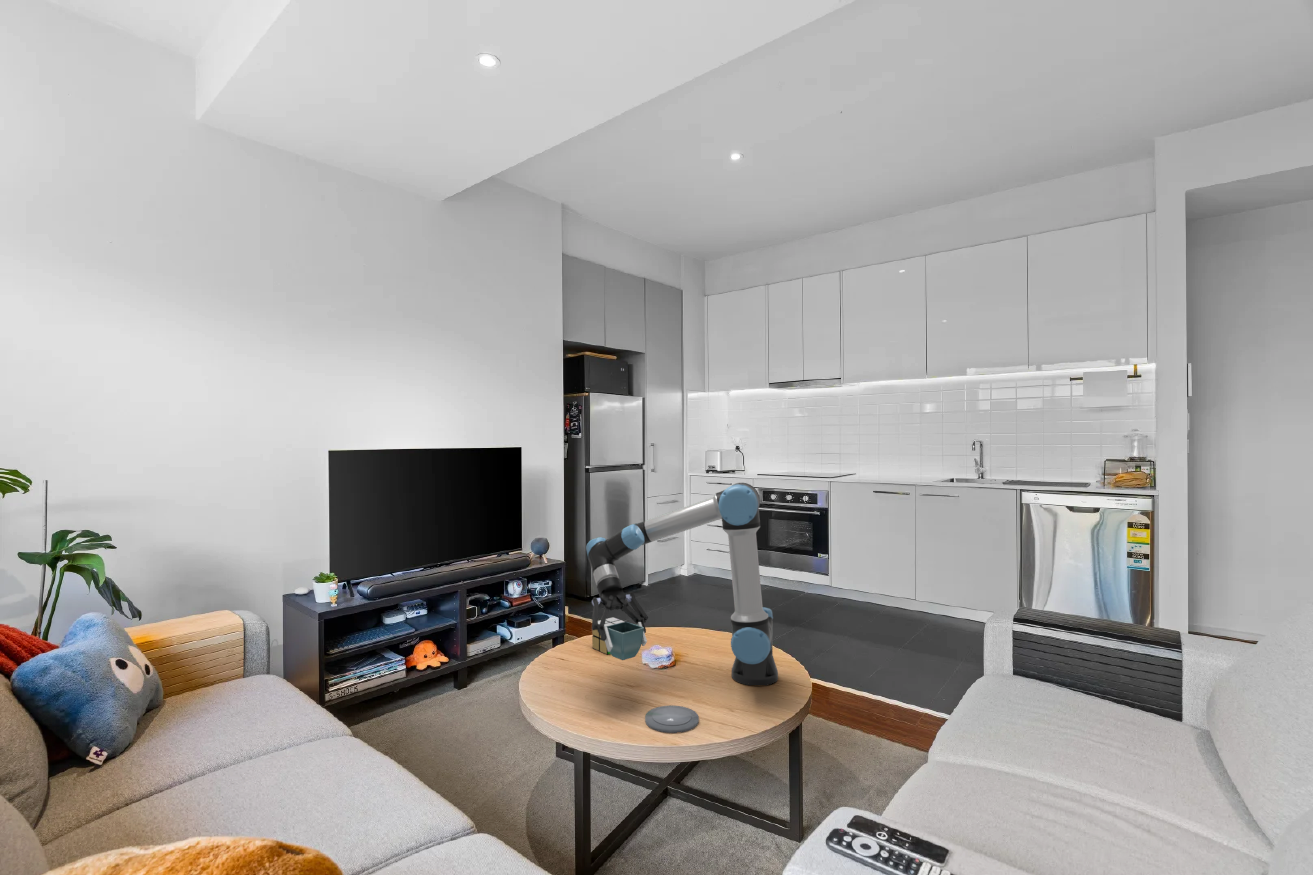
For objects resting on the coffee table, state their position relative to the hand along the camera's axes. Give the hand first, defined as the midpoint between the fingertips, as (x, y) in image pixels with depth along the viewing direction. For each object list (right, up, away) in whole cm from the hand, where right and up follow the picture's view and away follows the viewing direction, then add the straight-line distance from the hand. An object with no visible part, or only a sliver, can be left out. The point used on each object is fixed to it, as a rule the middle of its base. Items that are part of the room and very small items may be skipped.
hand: (627, 646), depth 184 cm
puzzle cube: (-9, -18, +51) cm, 55 cm away
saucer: (+13, -18, -9) cm, 24 cm away
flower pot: (-1, -4, +3) cm, 5 cm away
